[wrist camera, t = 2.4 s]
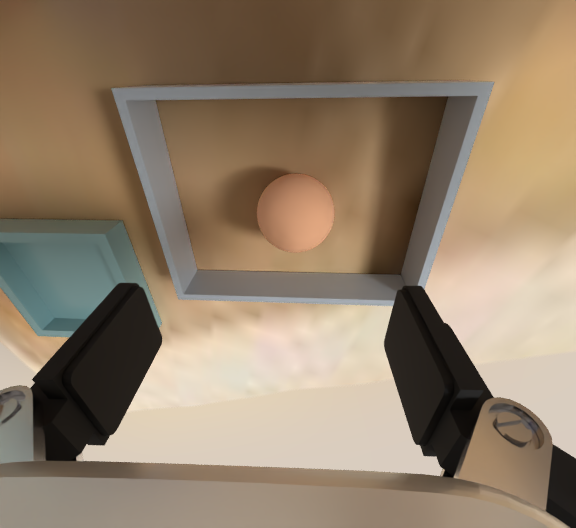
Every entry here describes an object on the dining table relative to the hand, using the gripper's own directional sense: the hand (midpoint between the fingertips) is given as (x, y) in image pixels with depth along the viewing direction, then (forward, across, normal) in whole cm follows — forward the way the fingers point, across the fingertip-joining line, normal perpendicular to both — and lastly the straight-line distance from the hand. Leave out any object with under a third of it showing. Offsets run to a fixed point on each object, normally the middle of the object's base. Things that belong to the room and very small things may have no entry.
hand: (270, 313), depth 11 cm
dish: (+11, +17, +6) cm, 21 cm away
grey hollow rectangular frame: (+10, -1, -1) cm, 10 cm away
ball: (+10, -1, -1) cm, 10 cm away
